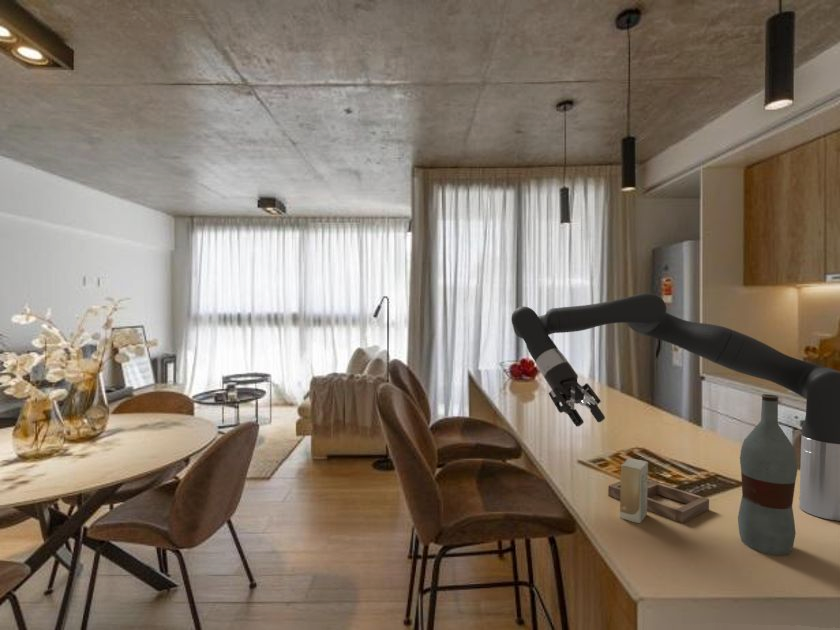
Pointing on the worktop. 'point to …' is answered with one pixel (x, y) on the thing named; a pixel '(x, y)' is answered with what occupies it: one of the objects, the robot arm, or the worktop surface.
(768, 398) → the bottle
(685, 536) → the worktop surface
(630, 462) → the skincare box
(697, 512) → the slot holder
